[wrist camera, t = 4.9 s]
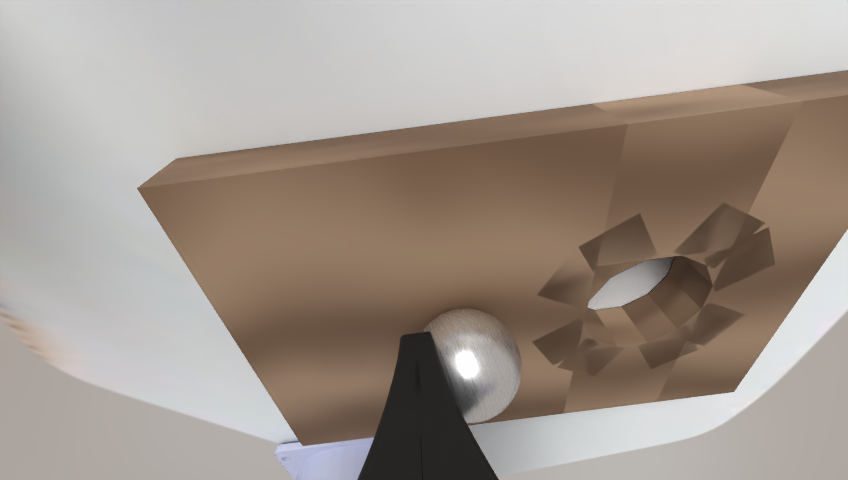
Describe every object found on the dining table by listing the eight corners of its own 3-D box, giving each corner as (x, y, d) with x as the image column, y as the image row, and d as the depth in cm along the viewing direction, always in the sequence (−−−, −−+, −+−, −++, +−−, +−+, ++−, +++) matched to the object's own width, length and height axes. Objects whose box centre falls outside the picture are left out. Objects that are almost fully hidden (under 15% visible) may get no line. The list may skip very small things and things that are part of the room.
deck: (704, 357, 19) (733, 391, 17) (310, 406, 19) (302, 446, 17) (865, 68, 11) (950, 81, 9) (176, 158, 11) (137, 188, 9)
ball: (418, 374, 14) (500, 341, 14) (444, 464, 11) (548, 420, 11) (391, 309, 12) (485, 273, 12) (412, 395, 9) (537, 345, 9)
